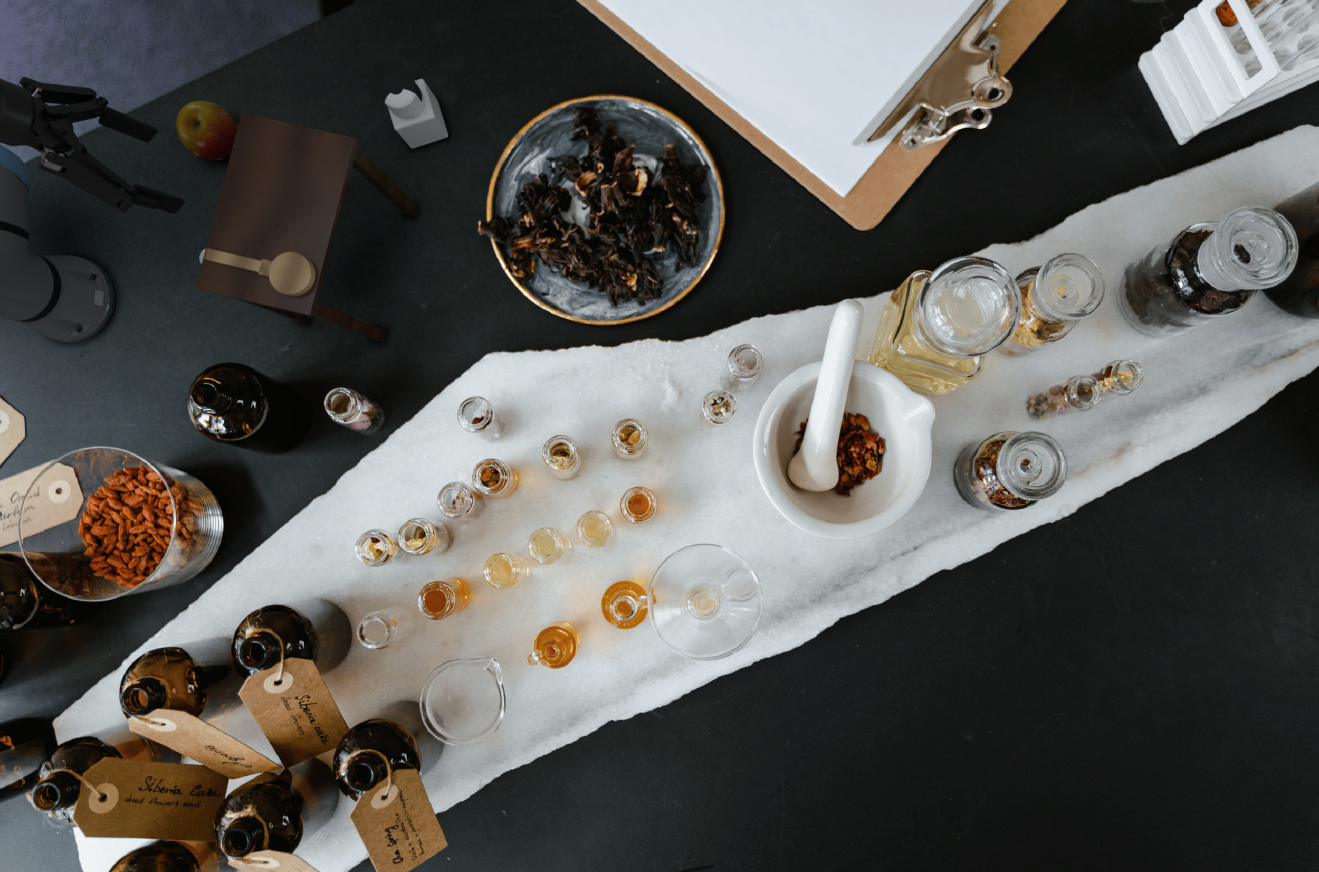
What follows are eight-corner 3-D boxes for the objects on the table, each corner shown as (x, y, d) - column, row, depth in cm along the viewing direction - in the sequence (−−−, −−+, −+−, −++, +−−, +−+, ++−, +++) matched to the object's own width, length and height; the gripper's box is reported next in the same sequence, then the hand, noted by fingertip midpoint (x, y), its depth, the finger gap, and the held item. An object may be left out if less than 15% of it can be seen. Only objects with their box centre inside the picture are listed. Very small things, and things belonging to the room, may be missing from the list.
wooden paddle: (205, 276, 94) (199, 273, 92) (216, 235, 94) (210, 232, 93) (309, 300, 93) (304, 298, 92) (320, 259, 93) (315, 256, 92)
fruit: (229, 177, 119) (197, 156, 111) (188, 151, 119) (153, 129, 111) (258, 132, 119) (228, 108, 111) (217, 106, 120) (184, 81, 112)
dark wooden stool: (293, 323, 118) (194, 288, 94) (330, 183, 118) (241, 112, 94) (385, 345, 117) (309, 315, 93) (421, 204, 118) (355, 137, 94)
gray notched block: (400, 112, 119) (368, 73, 107) (438, 100, 118) (410, 59, 106) (411, 149, 118) (381, 114, 106) (449, 137, 118) (423, 100, 106)
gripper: (22, 165, 77) (205, 222, 97) (-30, 6, 82) (155, 91, 102) (-10, 204, 80) (176, 252, 100) (-58, 46, 85) (128, 122, 104)
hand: (166, 170), depth 101 cm, fingers open, 13 cm apart
